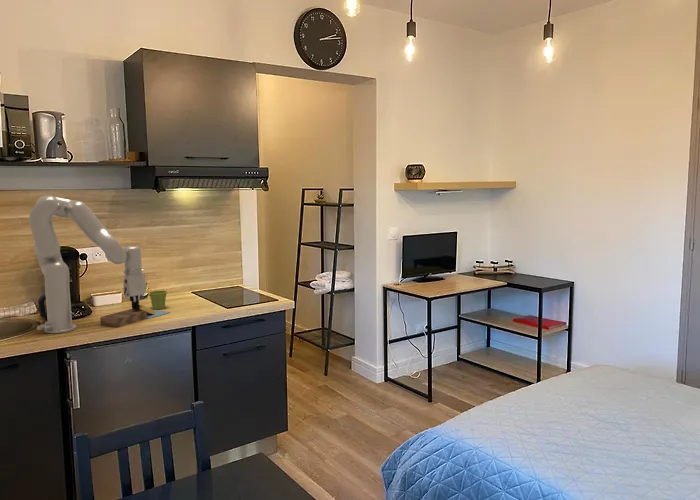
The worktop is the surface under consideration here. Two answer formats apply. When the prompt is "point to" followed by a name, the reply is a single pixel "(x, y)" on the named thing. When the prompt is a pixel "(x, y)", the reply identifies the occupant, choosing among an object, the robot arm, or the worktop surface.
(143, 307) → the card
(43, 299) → the milk frother
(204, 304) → the worktop surface
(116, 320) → the brown flat block
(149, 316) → the mat
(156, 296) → the plant pot
